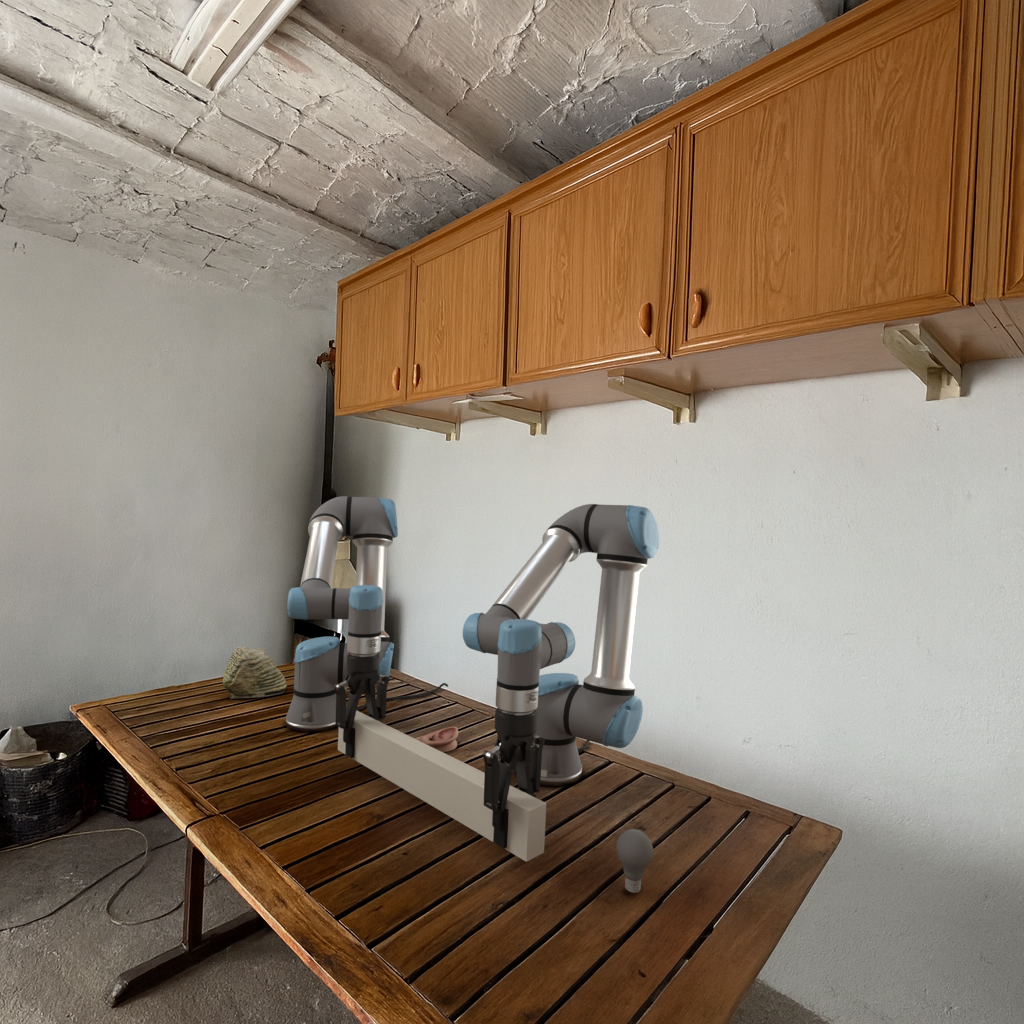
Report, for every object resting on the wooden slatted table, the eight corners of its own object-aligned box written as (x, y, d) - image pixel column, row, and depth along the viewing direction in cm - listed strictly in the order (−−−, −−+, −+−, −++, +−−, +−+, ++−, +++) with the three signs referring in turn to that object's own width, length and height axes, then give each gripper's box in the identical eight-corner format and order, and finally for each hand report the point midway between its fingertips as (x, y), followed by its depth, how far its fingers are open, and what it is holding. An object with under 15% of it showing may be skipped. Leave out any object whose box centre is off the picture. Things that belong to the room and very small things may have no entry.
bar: (337, 750, 149) (339, 713, 149) (354, 745, 153) (355, 709, 152) (526, 862, 106) (529, 811, 106) (544, 852, 110) (546, 802, 109)
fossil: (218, 695, 195) (220, 647, 195) (278, 685, 208) (279, 640, 207) (228, 703, 189) (230, 653, 188) (289, 692, 201) (290, 645, 201)
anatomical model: (398, 735, 159) (414, 720, 170) (398, 751, 159) (414, 734, 170) (449, 741, 156) (462, 725, 167) (448, 757, 156) (461, 740, 168)
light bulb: (610, 879, 108) (613, 822, 108) (644, 879, 109) (647, 822, 109) (619, 902, 102) (622, 840, 102) (655, 901, 103) (658, 840, 103)
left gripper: (338, 661, 138) (333, 768, 138) (404, 650, 150) (400, 748, 150) (320, 655, 143) (316, 757, 143) (386, 644, 155) (382, 739, 156)
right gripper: (495, 725, 103) (489, 867, 103) (564, 704, 115) (558, 831, 116) (465, 713, 108) (459, 848, 109) (534, 694, 121) (528, 815, 121)
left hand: (359, 752), depth 147 cm, fingers closed on bar, 4 cm apart
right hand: (510, 839), depth 112 cm, fingers closed on bar, 4 cm apart
